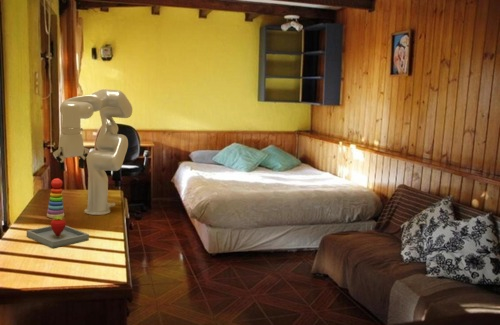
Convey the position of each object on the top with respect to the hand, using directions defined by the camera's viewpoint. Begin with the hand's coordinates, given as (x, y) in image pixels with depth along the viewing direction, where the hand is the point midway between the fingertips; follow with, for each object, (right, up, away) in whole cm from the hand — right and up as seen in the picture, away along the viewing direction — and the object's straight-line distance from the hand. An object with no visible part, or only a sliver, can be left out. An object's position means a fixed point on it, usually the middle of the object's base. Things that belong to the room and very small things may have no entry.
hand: (71, 169), depth 212 cm
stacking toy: (-14, -23, +18) cm, 32 cm away
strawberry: (-1, -28, -14) cm, 31 cm away
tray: (-1, -29, -14) cm, 32 cm away
